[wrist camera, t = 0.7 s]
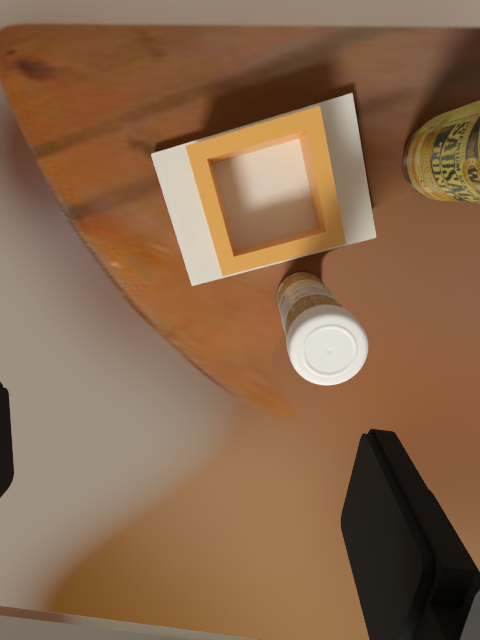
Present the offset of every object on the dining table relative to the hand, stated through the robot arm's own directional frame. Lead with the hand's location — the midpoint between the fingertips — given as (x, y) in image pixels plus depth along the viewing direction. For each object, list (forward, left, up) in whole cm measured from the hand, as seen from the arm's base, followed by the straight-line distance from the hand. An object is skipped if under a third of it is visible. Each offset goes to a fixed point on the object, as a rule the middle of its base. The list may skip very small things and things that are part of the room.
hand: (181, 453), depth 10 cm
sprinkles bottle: (-6, +3, -26) cm, 26 cm away
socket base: (-5, -6, -25) cm, 26 cm away
